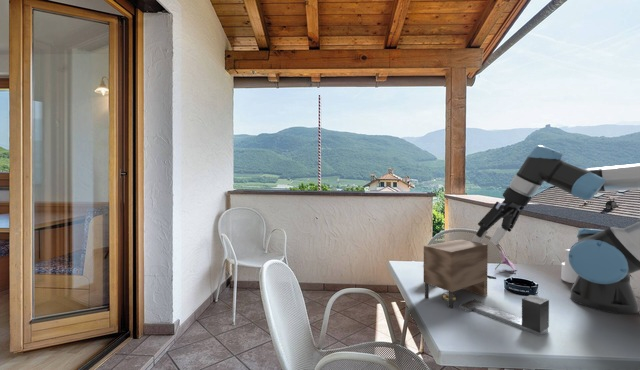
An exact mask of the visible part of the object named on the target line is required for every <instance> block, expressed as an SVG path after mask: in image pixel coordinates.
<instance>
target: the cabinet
mask: <svg viewBox="0 0 640 370" xmlns="http://www.w3.org/2000/svg"><path fill="white" fill-rule="evenodd" d="M488 245H489V244H488V243H487V244H486V243H482V242H481V243H477V242H472V241H471V240H465V239H455V240H449V241H443V242H438V243H432V244H431V243H430V244H426V245H423V283H424V299H429V298H430V297H429V296H430V295H429V293H430V291H429V290H430V289H429V285H430V286H433V287H435V288H439V289H441V290H444V291H446V292H448V294H449V301H448V308H449V309H454V301H453V295H454V292H456V291H457V292H458V291H460V290H464V291H467V292H470V293H472V294H473V293H474V294H476V295H479V296H483V297H486V296H488V278H487V275H488V260H489V259H488V254H489V253H488V251H489V250H488V248H489V247H488Z"/></svg>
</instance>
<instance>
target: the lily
mask: <svg viewBox="0 0 640 370" xmlns="http://www.w3.org/2000/svg"><path fill="white" fill-rule="evenodd" d="M498 246H499V245H498ZM499 248H500V250H499V252H500V254H501V262H500V263H499V264H498V265H496V267H495V268H494V270H497V268H498V267H499V266H500V265H502V264H504V265H507V266H509V267H511V269H512V270H513V272H514V273H515V274H517V272H516V266H515V264H514V263H512V261H511V260H510V258H508V257H507V256H506V254H505V252H504V250H503V249H502V248H501V246H499Z"/></svg>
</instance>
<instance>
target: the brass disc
mask: <svg viewBox="0 0 640 370" xmlns="http://www.w3.org/2000/svg"><path fill="white" fill-rule="evenodd" d="M442 298H443V300H444V301H447V300H448V302H449V292H447V293H443V294H442ZM456 301H457V296H456V295H455V294H453V302H456Z"/></svg>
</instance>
